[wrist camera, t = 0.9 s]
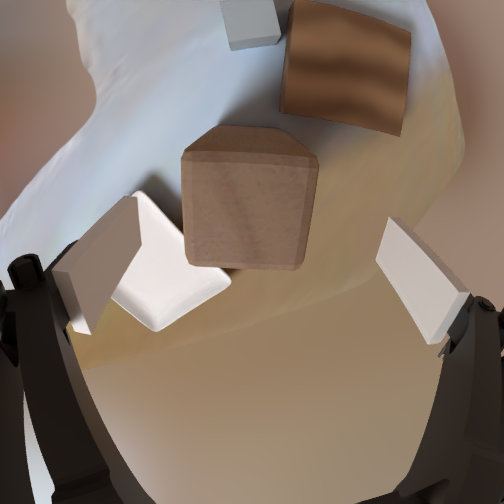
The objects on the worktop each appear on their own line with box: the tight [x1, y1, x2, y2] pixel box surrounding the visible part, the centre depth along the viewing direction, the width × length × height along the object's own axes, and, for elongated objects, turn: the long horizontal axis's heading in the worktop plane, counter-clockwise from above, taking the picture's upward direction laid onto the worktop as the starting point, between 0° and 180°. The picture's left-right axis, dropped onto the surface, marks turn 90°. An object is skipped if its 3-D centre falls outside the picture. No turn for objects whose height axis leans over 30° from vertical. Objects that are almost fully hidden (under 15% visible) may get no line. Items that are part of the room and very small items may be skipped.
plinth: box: [279, 0, 411, 137], centre depth 28 cm, size 16×16×5 cm
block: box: [181, 125, 319, 271], centre depth 29 cm, size 10×10×20 cm
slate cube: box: [220, 0, 281, 51], centre depth 25 cm, size 6×6×6 cm
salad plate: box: [111, 190, 232, 332], centre depth 45 cm, size 21×21×3 cm
